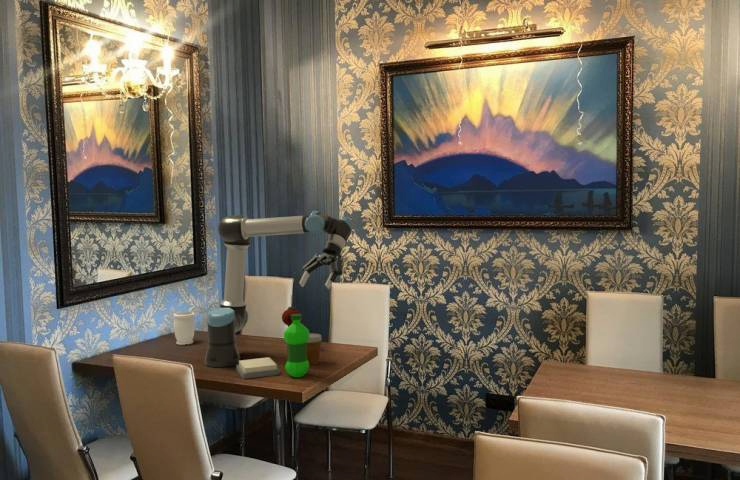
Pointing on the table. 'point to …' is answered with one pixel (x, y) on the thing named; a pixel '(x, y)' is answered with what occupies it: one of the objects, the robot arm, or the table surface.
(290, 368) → the plastic bottle
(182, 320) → the jar
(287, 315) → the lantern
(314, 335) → the disposable coffee cup
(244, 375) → the stepped plinth
